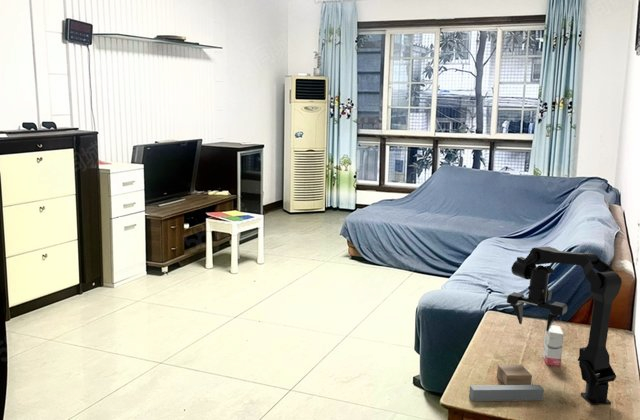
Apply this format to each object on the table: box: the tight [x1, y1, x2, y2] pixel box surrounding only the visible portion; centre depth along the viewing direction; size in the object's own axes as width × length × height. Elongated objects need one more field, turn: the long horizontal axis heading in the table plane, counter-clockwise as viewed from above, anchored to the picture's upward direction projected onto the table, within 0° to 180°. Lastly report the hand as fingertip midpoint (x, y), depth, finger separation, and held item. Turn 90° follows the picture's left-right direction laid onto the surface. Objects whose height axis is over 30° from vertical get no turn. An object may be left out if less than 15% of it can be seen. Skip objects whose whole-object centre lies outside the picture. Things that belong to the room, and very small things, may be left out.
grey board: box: [468, 384, 545, 402], centre depth 183 cm, size 3×22×4 cm, turn 96°
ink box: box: [542, 324, 565, 367], centre depth 212 cm, size 9×5×12 cm, turn 168°
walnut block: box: [496, 363, 533, 385], centre depth 194 cm, size 8×8×4 cm
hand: (534, 327), depth 206 cm, fingers open, 9 cm apart
